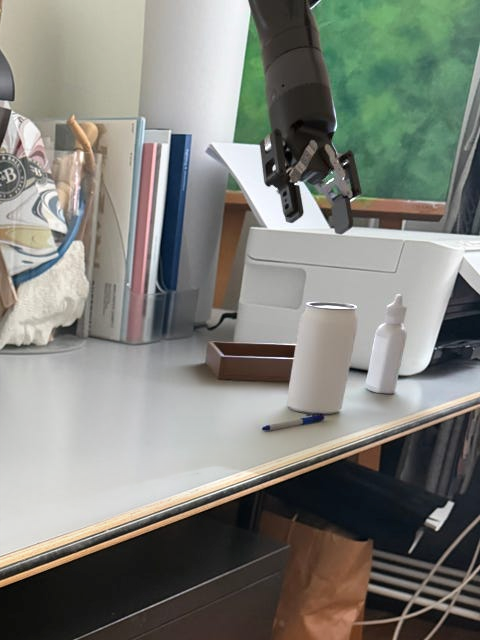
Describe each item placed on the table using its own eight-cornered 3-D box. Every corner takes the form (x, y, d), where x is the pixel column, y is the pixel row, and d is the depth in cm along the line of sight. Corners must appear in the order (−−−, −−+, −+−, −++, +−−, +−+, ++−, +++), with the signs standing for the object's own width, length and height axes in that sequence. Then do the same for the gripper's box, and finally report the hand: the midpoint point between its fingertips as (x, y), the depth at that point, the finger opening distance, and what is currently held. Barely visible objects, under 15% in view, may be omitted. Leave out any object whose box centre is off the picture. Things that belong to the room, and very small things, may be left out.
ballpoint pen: (318, 419, 109) (320, 410, 109) (325, 421, 108) (326, 412, 108) (260, 431, 103) (261, 422, 103) (267, 433, 103) (268, 424, 102)
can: (344, 406, 115) (363, 304, 110) (337, 417, 110) (357, 310, 104) (290, 400, 117) (307, 300, 112) (281, 411, 112) (298, 306, 107)
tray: (301, 366, 138) (304, 344, 137) (322, 383, 128) (326, 360, 126) (205, 362, 139) (207, 341, 137) (217, 379, 128) (220, 356, 127)
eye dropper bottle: (357, 391, 124) (376, 295, 118) (367, 384, 128) (386, 291, 122) (391, 395, 122) (412, 298, 116) (401, 388, 126) (421, 294, 120)
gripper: (280, 66, 108) (302, 197, 106) (363, 95, 115) (385, 218, 113) (235, 108, 115) (255, 232, 113) (316, 132, 122) (336, 250, 120)
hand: (320, 225), depth 113 cm, fingers open, 8 cm apart
